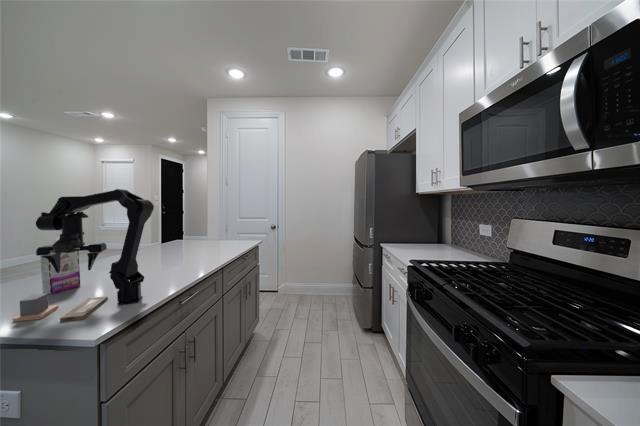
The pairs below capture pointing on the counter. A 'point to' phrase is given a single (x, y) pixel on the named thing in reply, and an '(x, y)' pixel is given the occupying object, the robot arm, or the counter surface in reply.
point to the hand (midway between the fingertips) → (74, 271)
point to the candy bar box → (61, 273)
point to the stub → (34, 307)
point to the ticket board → (84, 309)
